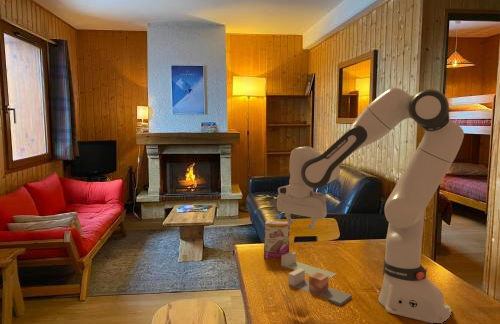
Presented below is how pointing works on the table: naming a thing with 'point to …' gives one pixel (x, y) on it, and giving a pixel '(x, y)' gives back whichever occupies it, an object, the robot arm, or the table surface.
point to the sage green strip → (301, 265)
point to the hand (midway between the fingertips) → (300, 226)
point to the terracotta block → (318, 282)
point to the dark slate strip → (334, 295)
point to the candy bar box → (276, 239)
